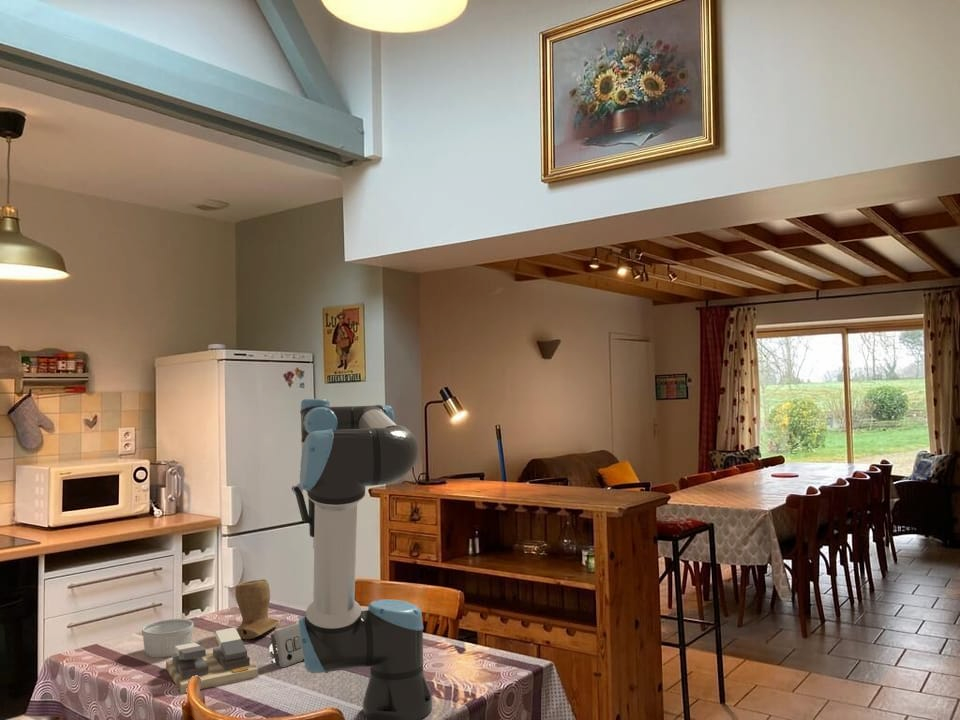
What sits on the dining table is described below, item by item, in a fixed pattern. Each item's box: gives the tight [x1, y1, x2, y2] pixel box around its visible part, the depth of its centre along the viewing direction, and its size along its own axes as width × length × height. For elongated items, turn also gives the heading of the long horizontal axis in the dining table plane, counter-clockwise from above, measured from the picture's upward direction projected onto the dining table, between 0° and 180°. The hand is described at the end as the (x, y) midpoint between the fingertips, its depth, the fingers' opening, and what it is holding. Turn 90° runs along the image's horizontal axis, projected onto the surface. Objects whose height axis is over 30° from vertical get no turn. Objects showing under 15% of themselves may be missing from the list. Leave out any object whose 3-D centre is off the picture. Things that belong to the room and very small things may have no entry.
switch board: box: [165, 646, 259, 694], centre depth 197 cm, size 20×18×4 cm
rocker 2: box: [215, 627, 248, 661], centre depth 200 cm, size 12×5×2 cm, turn 32°
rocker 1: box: [175, 642, 207, 660], centre depth 194 cm, size 12×5×2 cm, turn 32°
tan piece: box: [234, 579, 281, 640], centre depth 229 cm, size 15×12×15 cm
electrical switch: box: [270, 622, 304, 668], centre depth 204 cm, size 9×5×9 cm, turn 141°
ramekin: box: [141, 618, 195, 658], centre depth 214 cm, size 13×13×7 cm
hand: (317, 548), depth 202 cm, fingers closed
